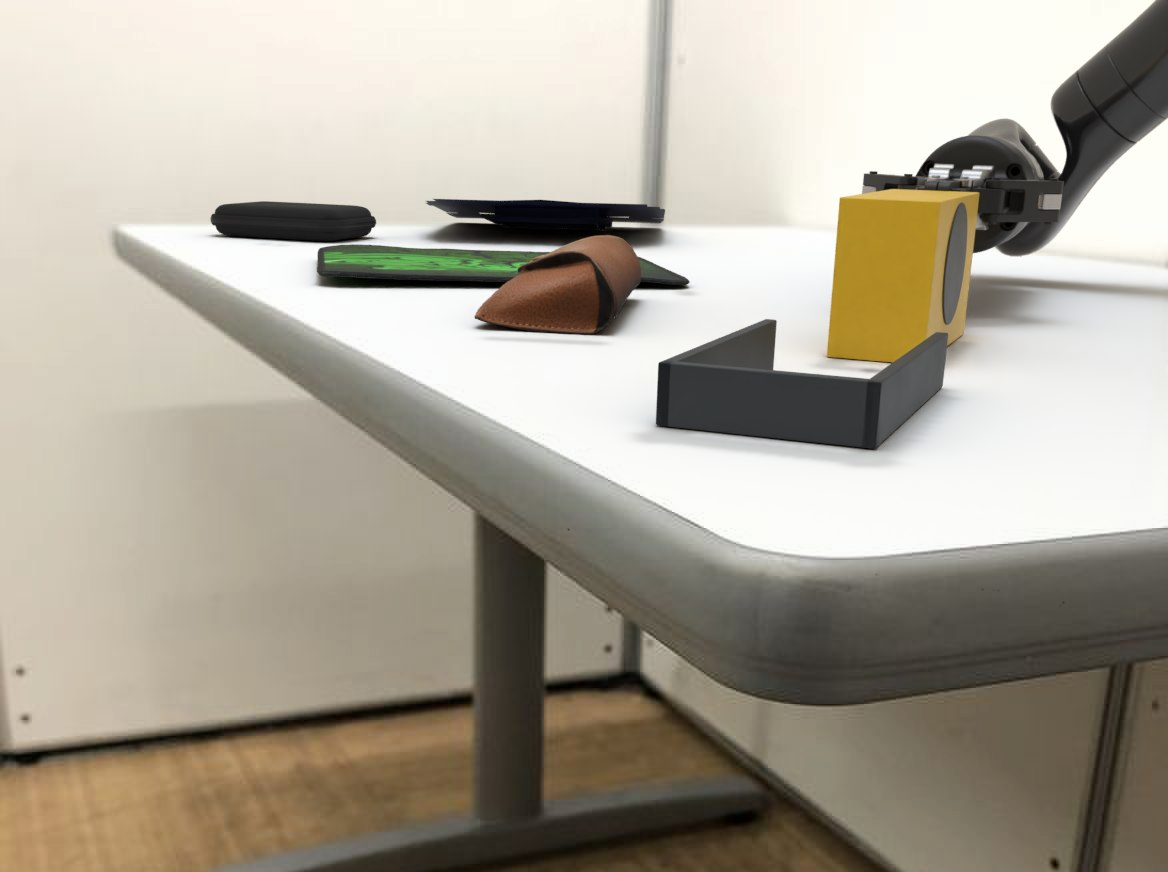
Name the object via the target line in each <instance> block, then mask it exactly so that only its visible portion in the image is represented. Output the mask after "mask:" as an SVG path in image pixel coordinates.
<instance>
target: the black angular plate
mask: <svg viewBox="0 0 1168 872" xmlns="http://www.w3.org/2000/svg"><path fill="white" fill-rule="evenodd" d="M425 204H426V205H428V206H430V207H435V208H436V209H438V210H440V211H443V212H445V213H446V214H447V215H449V216H450V217H453V218H455V219H484V220H486V221H488V222H490V223H493V224H495V225H501V228H505V229H533V230H535V229H538V230H539V229H540V230H570V231H571V230H573V231H577V230H578V231H607V228H613V223H637V224H661V223H663V222H664V220H665V213H666V209H665V208H661V207H660V206H648V204H645V203H644V204H643V203H607V202H606V203H604V202H579V201H578V202H576V201H563V200H553V199H552V200H551V199H550V200H549V199H514V200H513V199H511V200H509V199H508V200H493V199H491V200H488V199H458V198H457V199H454V198H453V199H451V198H447V199H446V198H432V200H425ZM571 239H573V236H572V237H571Z"/></svg>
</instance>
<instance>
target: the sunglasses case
mask: <svg viewBox="0 0 1168 872" xmlns="http://www.w3.org/2000/svg"><path fill="white" fill-rule="evenodd" d="M549 252H550V253H548V254H545V255H541V256H538V257H535V258H533V260H532V261H530V262H528V263H526V264H524V265H522V266H520V267H519V268H518V276H516V277H515V278H513V279H511V280H510V281H508V282H504V284H502V285H501V286H500V287H499V288H498V289H497V290H496V291H494V292H493V293H492V294H491V295H490V296H489V297H488V298H487V299H486V300H485V301H484V302H483V303H482V304H481V306H479V307H478V309H477V311H476V312H475V314H474V316H473V317H474V320H478V321H480V322H483V323H486V324H490V325H496V326H501V327H507V328H511V329H517V330H523V331H529V332H540V333H559V334H560V333H561V334H575V335H576V334H577V335H579V334H580V335H583V334H586V335H594V334H596V333H598V332H599V331H602V330H604V329H605V328H606V327H608V326H609V324H611V322H612V320H614V319H615V320H616V319H617V318H618V315H619V314H620V312H621V309H622V307H623V306H624V305H625V303H626V301H627V300H628V298H629V297H630V296H631V295H632V292H633V291H634V290H635V289H636V288H637V287H638V286H639V285H640V284H641V282H640V281H641V267H640V262H639V260H638V257H639V256H638V255H637V253H636V252H635V250H634V248H633V247H632V245H630V244H629V243H628V241H626V240H625V239H624V238H622V237H620V236H616V235H611V234H605V235H604V234H602V235H601V234H600V235H591V236H587V237H584V238H580V239H577V240H575V241H571V242H569V243H567V244H564V245H562V246H560V247H558V248H556V249H554V250H551V251H549ZM637 256H638V257H637Z"/></svg>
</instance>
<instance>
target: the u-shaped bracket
mask: <svg viewBox="0 0 1168 872" xmlns="http://www.w3.org/2000/svg"><path fill="white" fill-rule="evenodd" d="M777 323H778V321H777V320H776V319H771V318H770V319H769V318H765V319H762V320H760V321H758V322H755V323H753V324H751V325H748V326H746V327H745V326H744V327H743V328H740V329H738V330H735V331H732V332H730V333H728V334H726V335H724V336H721V337H718V338H716V339H713V340H711V341H709V342H706V343H703V344H700V345H699V346H696V347H694V348H690V349H689V350H686V351H683V352H681V353H678V354H677V355H674V356H672V357H669V358H666V359H664V360H662V361H659V362H658V366H657V385H656V388H657V389H656V407H655V408H656V409H655V426H659V427H668V428H675V429H676V428H677V429H678V428H679V429H686V430H695V431H703V432H714V433H715V432H716V433H723V434H733V435H742V436H752V437H758V438H759V437H760V438H769V439H779V440H789V441H796V442H797V441H798V442H805V443H806V442H807V443H816V444H824V445H825V444H826V445H833V446H843V447H844V446H845V447H851V448H863V449H872V450H876V449H877V448H878V447H879V446H880V445H881V444H882V443H883V442H884V441H885V440H886V439H888V438H889V436H891V434H893V433H894V432H895V431H896V430H897V429H898V428H899V427H900V426H901V425H902V424H904V423H905V422H906V421H907V420H908V419H909V418H910V417H911V416H912V415H913V414H914V413H915V412H917V410H919V409H920V408H921V407H922V406H923V405H924V404H925V403H927V402H928V400H930V398H932V397H933V396H934V395H936V393H937V392H939V390H941V389H942V387H943V386H944V378H945V370H946V369H945V368H946V361H947V349H948V346H947V342H948V333H942V332H936V333H934V334H933V335H931V336H930V337H929V338H927V339H926V340H924V341H923V342H921V343H920V344H919V345H917V346H916V347H914V348H913V349H911V350H910V351H909V352H907V353H906V354H904V355H903V356H902V357H900V358H899V359H897V360H896V361H894V362H893V363H892V362H891V363H889V364H888V366H886V367H884V368H883V369H882V370H880V371H879V372H878V373H876V374H874V375H873V376H871V377H870V378H866V377H865V378H863V377H852V376H841V375H831V374H822V373H821V374H820V373H809V372H796V371H786V370H774V366H775V365H774V364H775V351H776V336H777Z"/></svg>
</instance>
